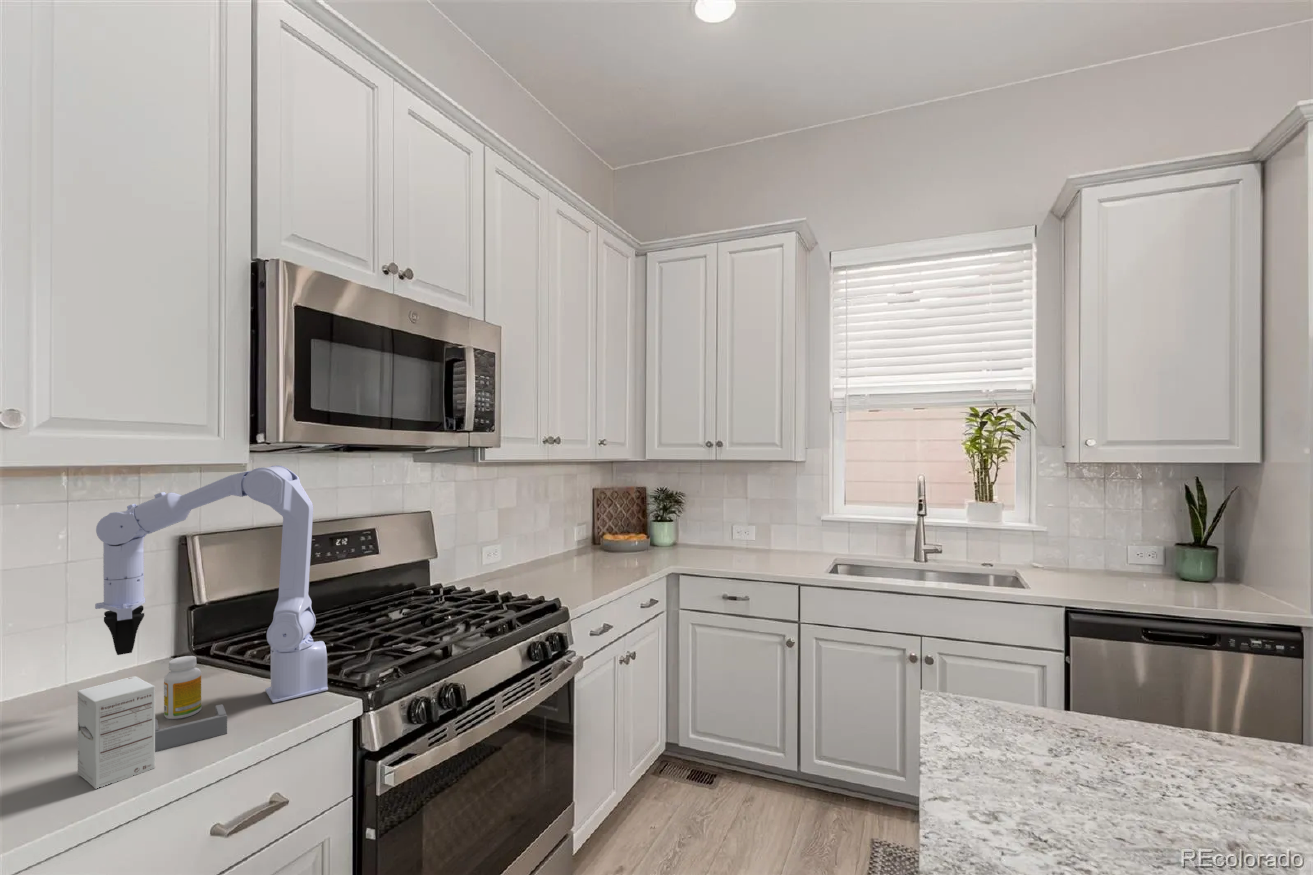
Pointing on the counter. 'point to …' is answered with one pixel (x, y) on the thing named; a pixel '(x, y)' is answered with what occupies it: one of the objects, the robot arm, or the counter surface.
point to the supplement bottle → (182, 688)
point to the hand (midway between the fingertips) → (124, 650)
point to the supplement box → (116, 730)
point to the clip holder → (191, 730)
